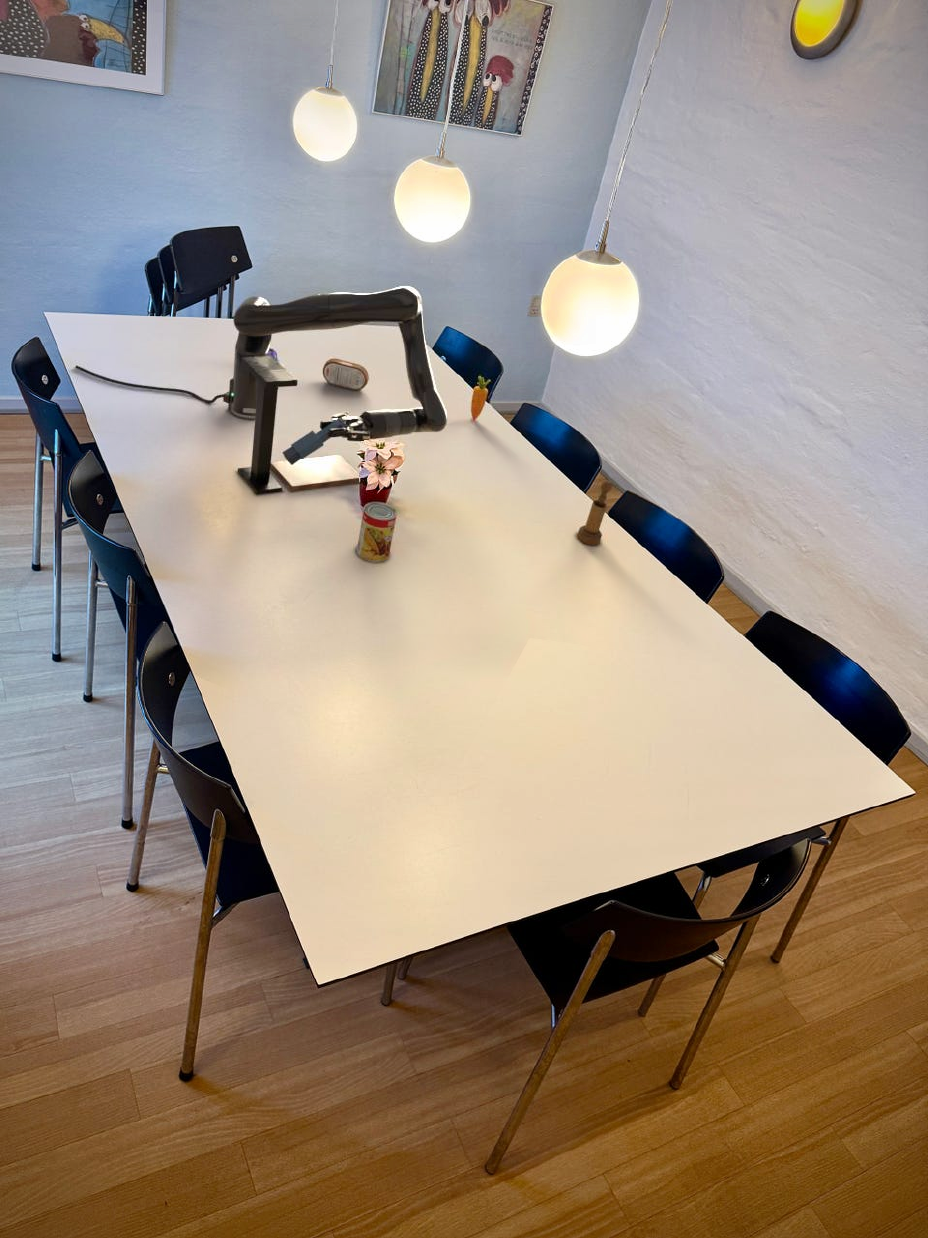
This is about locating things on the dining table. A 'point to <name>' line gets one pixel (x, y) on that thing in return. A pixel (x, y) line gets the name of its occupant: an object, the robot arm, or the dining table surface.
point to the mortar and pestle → (595, 518)
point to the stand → (264, 421)
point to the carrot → (479, 398)
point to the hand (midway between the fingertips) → (325, 429)
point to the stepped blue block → (310, 443)
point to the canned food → (376, 531)
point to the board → (315, 473)
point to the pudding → (275, 356)
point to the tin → (345, 374)
